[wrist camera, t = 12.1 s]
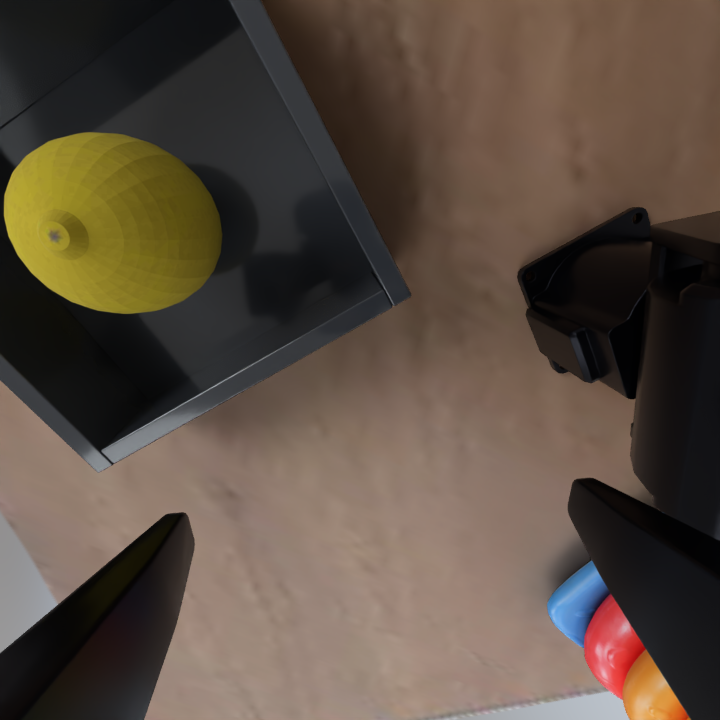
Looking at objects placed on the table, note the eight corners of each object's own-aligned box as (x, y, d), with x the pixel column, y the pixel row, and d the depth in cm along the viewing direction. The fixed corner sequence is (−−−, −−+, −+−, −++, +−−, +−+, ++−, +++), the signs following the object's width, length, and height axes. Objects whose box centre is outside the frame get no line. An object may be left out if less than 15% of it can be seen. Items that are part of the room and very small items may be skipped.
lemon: (201, 311, 18) (112, 382, 11) (86, 236, 16) (-115, 257, 9) (266, 212, 17) (215, 213, 9) (146, 120, 15) (-31, 32, 8)
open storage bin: (221, -51, 14) (163, -193, 9) (390, 274, 19) (412, 297, 14) (-71, 163, 16) (-253, 142, 11) (153, 410, 21) (97, 473, 16)
